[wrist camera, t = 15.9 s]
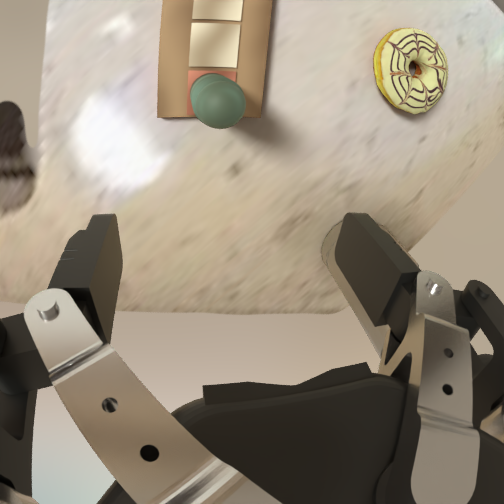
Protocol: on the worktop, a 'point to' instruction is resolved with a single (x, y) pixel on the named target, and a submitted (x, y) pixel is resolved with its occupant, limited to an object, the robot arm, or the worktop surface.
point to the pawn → (217, 100)
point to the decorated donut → (397, 69)
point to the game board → (212, 50)
